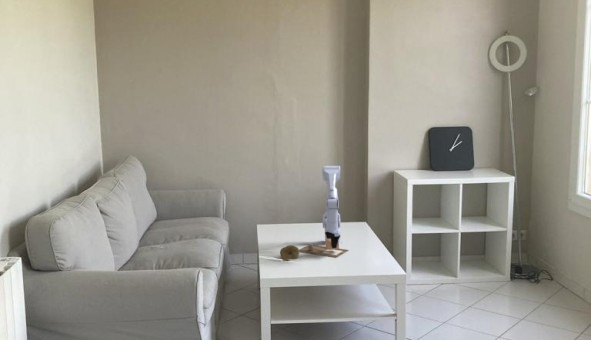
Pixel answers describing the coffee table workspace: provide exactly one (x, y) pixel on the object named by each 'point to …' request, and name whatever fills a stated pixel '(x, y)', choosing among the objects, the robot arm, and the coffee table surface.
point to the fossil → (289, 252)
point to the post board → (319, 250)
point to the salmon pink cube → (329, 246)
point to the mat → (332, 252)
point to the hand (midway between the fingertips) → (332, 246)
